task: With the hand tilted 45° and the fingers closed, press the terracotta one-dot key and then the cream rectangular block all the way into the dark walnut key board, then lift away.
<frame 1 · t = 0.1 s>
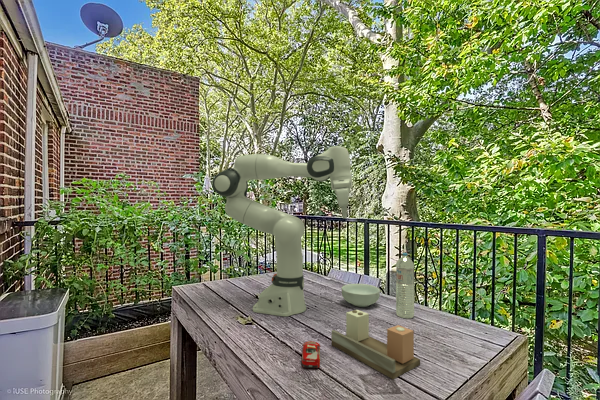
hand: (345, 217, 125), 39 cm above the table, tool pointing down, fingers open, 8 cm apart
race car: (311, 359, 86), on the table
water bottle: (405, 316, 120), on the table
key board: (374, 353, 89), on the table
cereal bowl: (360, 304, 135), on the table
terracotta key: (400, 343, 83), point 6 cm above the table, slide at 0.0 cm
cream rectangular block: (357, 324, 96), point 6 cm above the table, slide at 0.0 cm
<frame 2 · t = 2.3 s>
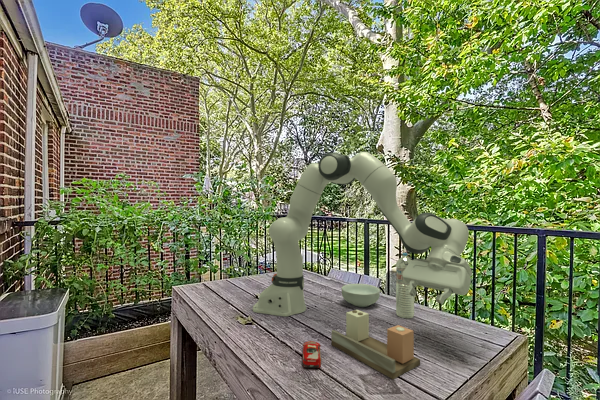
hand: (424, 298, 91), 16 cm above the table, tool tilted 45°, fingers open, 8 cm apart
nothing on the table moved.
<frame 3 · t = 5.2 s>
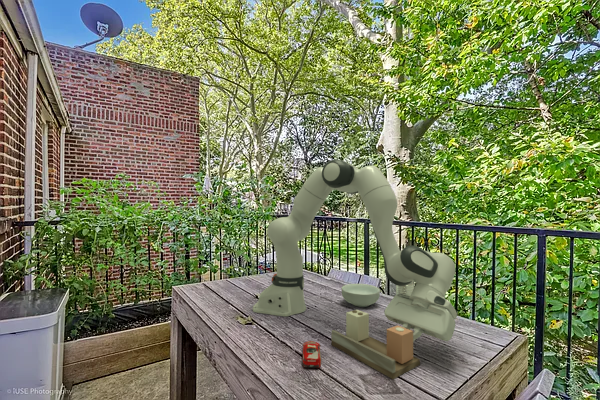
hand: (406, 341, 85), 5 cm above the table, tool tilted 45°, fingers closed, pressing on terracotta key
terracotta key: (399, 343, 83), point 6 cm above the table, slide at 0.3 cm, touching gripper
everything else where it was.
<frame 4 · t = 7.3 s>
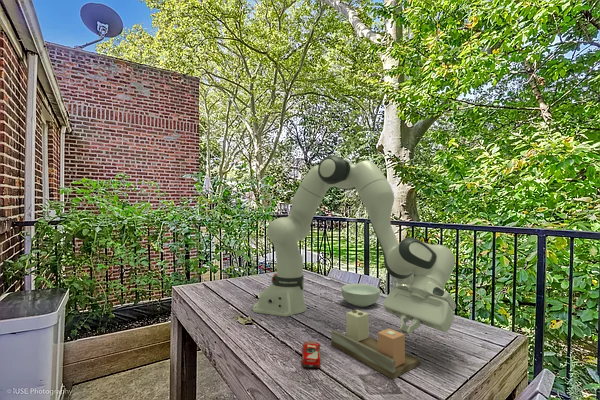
hand: (404, 332, 85), 8 cm above the table, tool tilted 45°, fingers closed
terracotta key: (391, 346, 81), point 6 cm above the table, slide at 4.1 cm
everything else where it was.
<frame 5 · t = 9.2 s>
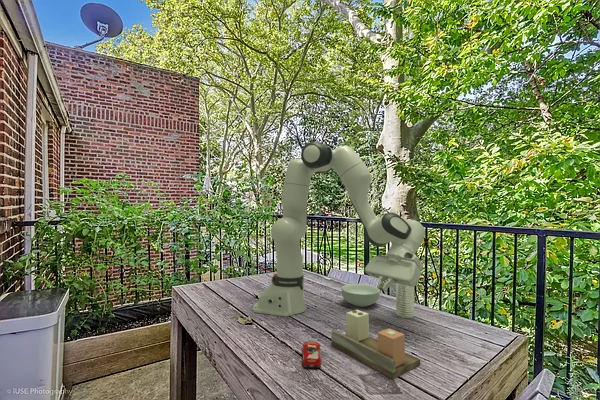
hand: (381, 289, 104), 15 cm above the table, tool tilted 45°, fingers closed
nothing on the table moved.
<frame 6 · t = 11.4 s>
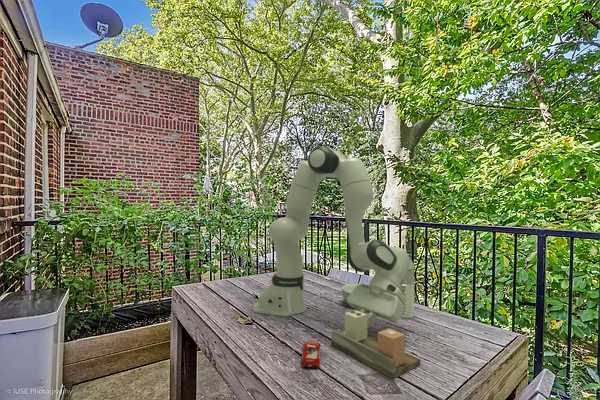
hand: (362, 324, 98), 5 cm above the table, tool tilted 45°, fingers closed, pressing on cream rectangular block
cream rectangular block: (355, 325, 96), point 6 cm above the table, slide at 0.8 cm, touching gripper
everything else where it was.
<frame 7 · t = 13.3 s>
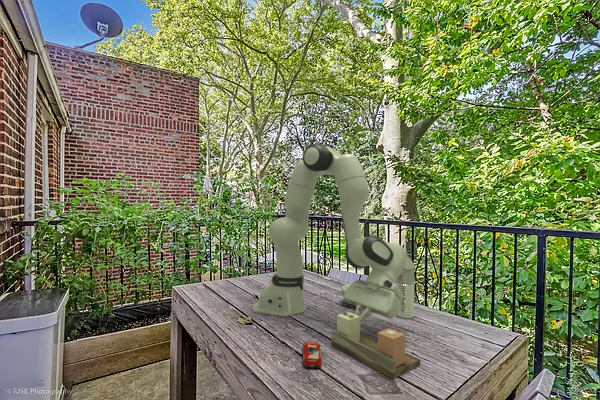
hand: (358, 319, 97), 7 cm above the table, tool tilted 45°, fingers closed
cream rectangular block: (348, 327, 94), point 6 cm above the table, slide at 4.1 cm
everything else where it was.
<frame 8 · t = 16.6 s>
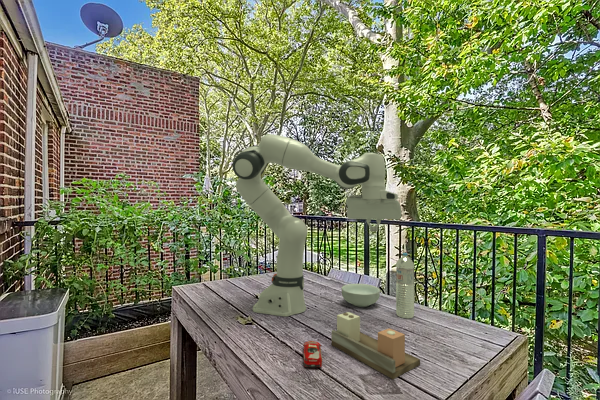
hand: (373, 231, 115), 34 cm above the table, tool pointing down, fingers closed
nothing on the table moved.
at the end: terracotta key slide at 4.1 cm; cream rectangular block slide at 4.1 cm; race car moved 0.6 cm from its start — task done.
